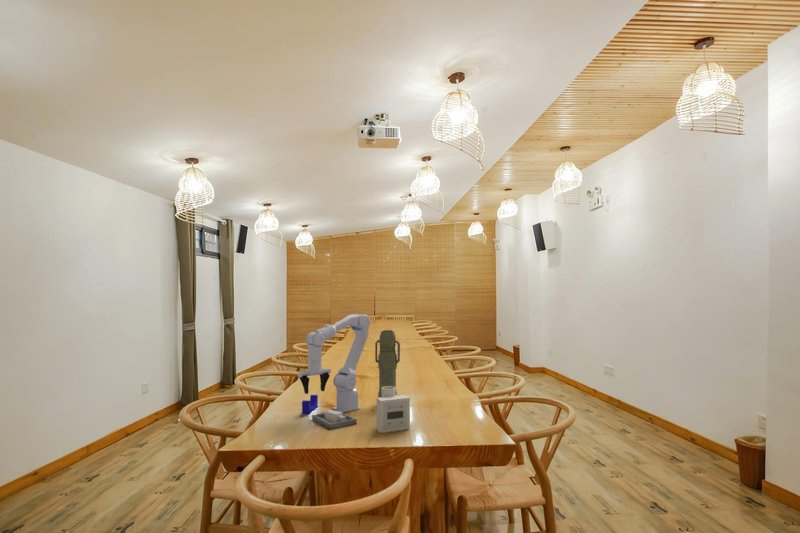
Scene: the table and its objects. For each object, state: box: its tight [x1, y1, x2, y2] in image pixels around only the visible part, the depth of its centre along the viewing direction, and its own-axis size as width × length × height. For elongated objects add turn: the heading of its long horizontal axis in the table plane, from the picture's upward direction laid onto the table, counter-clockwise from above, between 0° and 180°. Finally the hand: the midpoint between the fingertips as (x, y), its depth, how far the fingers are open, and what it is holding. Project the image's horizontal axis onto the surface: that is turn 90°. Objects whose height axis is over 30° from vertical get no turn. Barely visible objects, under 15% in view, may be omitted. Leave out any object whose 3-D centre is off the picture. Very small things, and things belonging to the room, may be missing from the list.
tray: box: [311, 410, 358, 430], centre depth 183 cm, size 12×16×2 cm
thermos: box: [374, 329, 401, 398], centre depth 210 cm, size 9×12×35 cm
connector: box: [324, 409, 346, 423], centre depth 183 cm, size 10×4×4 cm, turn 54°
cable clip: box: [301, 394, 319, 416], centre depth 200 cm, size 12×4×6 cm, turn 171°
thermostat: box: [376, 386, 411, 434], centre depth 178 cm, size 12×14×15 cm
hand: (314, 392), depth 191 cm, fingers open, 7 cm apart
